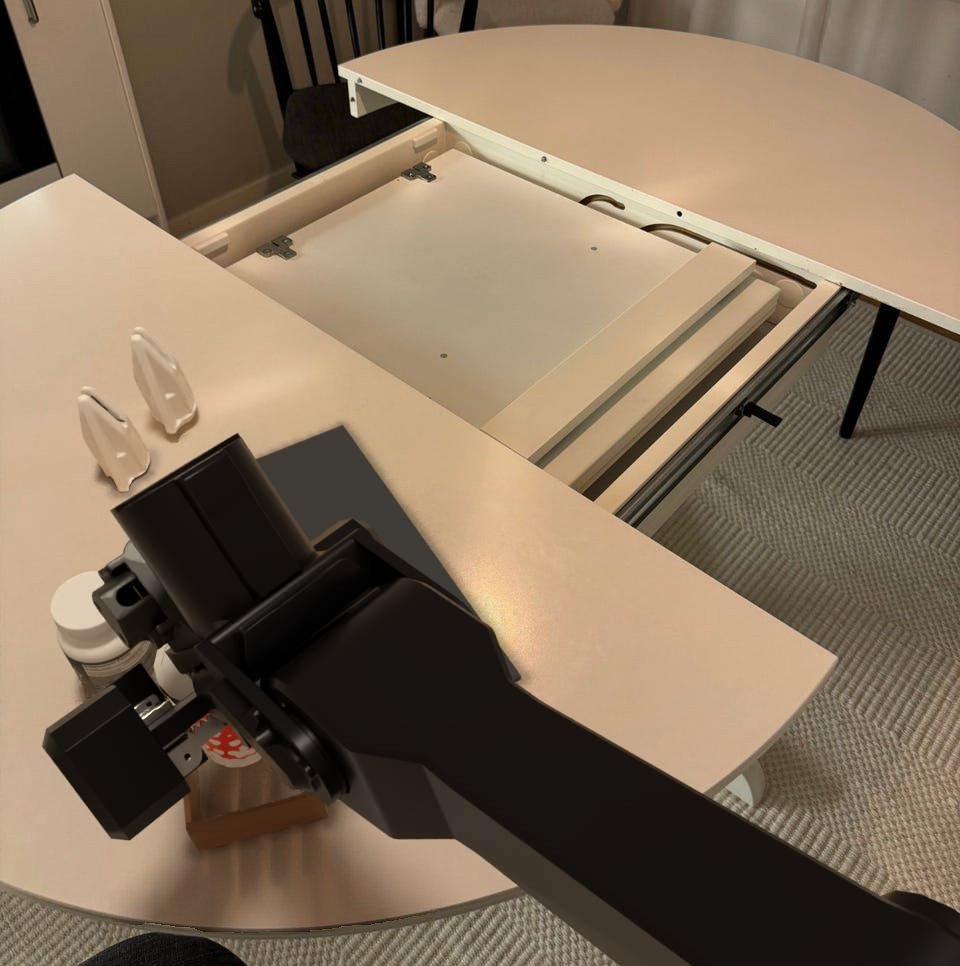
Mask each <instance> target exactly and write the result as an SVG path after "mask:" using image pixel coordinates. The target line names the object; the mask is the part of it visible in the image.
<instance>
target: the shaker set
mask: <svg viewBox="0 0 960 966" xmlns="http://www.w3.org/2000/svg"><path fill="white" fill-rule="evenodd" d="M130 349H131V363H132V374H133V380H134V382H135V384H136V386H137V388H138V390H139V392H140V393H141V396H142V398H143V399H144V402H145V403H146V405H147V408H148V409H149V410H150V412H151V414H152V416H153V419H154V420H155V421H157V422H158V423H160V424H161V425H163V426H164V430H165V433H166V434H170V435H173V434H176V433H177V432H178V430H179V429H180V428H181V427H183V426H184V425H186V424H187V423H189V422H190V421H191V420H192V419H193V418H194V416H195V415H196V412H197V411H196V410H197V408H198V405H197V398H196V396H195V394H194V392H193V390H192V387H191V385H190V383H189V380H188V379H187V377H186V375H185V373H184V370H183V369H182V366H181V364H180V363H179V361H178V359H177V357H176V356H175V355H174V354H173V353H172V352H171V350H170V349H168V348H167V346H165V345H164V343H163V342H161V341H160V339H158V338H157V337H156V336H155V335H154V334H153V333H151V332H150V331H149V330H148V329H146V328H144V327H142V326H136V327H134V328H133V330H132V335H131V337H130ZM77 407H78V417H79V423H80V429H81V435H82V439H83V440H84V443H85V445H86V446H87V447H88V449H89V451H90V452H91V454H92V455H93V457H94V459H95V460H96V462H97V463H98V465H99V467H100V468H101V469H102V471H103V473H104V475H105V476H106V477H110V478H111V479H113V481H114V483H115V486H116V489H117V491H119V492H120V493H122V492H124V493H125V492H129V489H130V485H131V483H132V481H133V480H135V478H138V477H140V476H141V475H143V474H144V473H146V471H147V469H148V467H149V464H150V461H151V458H150V452H149V449H148V447H147V445H146V443H145V442H144V440H143V439H142V437H141V435H140V433H139V431H138V430H137V428H136V426H135V424H134V423H133V422H132V420H131V418H130V417H129V415H128V414H127V413H126V412H125V411H124V410H123V409H122V408H120V407H119V405H117V404H116V403H115V402H114V401H113V400H111V399H110V398H109V397H107V396H106V395H105V394H104V393H102V392H101V391H99V390H97V389H96V388H94V387H93V386H91V385H89V386H88V385H84V386H81V388H80V395H79V396H78V397H77Z"/></svg>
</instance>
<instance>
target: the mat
mask: <svg viewBox="0 0 960 966" xmlns="http://www.w3.org/2000/svg"><path fill="white" fill-rule="evenodd" d="M255 459H256V460H257V462H258V463H259V465H260V466H261V468H262V469H263V471H264V472H265V474H266V476H267V477H268V479H269V480H270V482H271V483H272V485H273V486H274V488H275V489H276V491H277V492H278V494H279V495H280V497H281V499H282V500H283V502H284V503H285V505H286V506H287V508H288V509H289V511H290V512H291V514H292V515H293V517H294V518H295V520H296V522H297V523H298V525H299V526H300V528H301V529H302V531H303V532H304V534H305V535H306V537H307V538H308V540H309V542H311V541H312V540H314V539H315V538H316V537H318V536H319V535H321V534H322V533H324V532H325V531H326V530H328V529H329V528H331V527H332V526H333V525H335V524H336V523H338V522H339V521H341V520H346V519H351V518H354V519H358V520H361V521H365V522H366V523H367V524H368V525H370V526H371V527H372V528H373V529H374V530H375V531H376V533H377V534H378V536H379V537H380V539H381V540H382V542H383V544H384V545H385V547H386V548H387V549H389V550H390V551H392V552H393V553H395V554H396V555H397V556H399V557H400V558H402V559H403V560H404V561H406V562H407V563H409V564H410V565H412V566H413V567H414V568H416V569H417V570H419V571H420V572H422V573H423V574H424V575H426V576H427V577H429V578H430V579H431V580H433V581H434V582H436V583H437V584H439V585H440V586H441V587H443V588H444V589H446V590H447V591H448V592H450V593H451V594H453V595H454V596H455V597H457V598H458V599H459V600H460V601H461V602H463V603H464V604H465V605H466V606H467V607H468V608H469V609H470V610H471V612H472V613H473V614H474V615H475V616H476V617H477V618H479V619H480V620H482V618H481V617H480V616H479V613H477V611H476V610H475V609H474V607H473V606H472V605H471V603H470V602H469V600H468V599H467V598H466V596H465V595H464V593H463V591H462V590H461V589H460V588H459V586H458V584H457V583H456V582H455V580H454V579H453V577H452V576H451V575H450V574H449V572H448V570H447V569H446V568H445V567H444V565H443V563H442V562H441V561H440V560H439V557H438V556H437V555H436V553H435V552H434V551H433V549H432V548H431V546H430V545H429V544H428V542H427V541H426V540H425V538H424V537H423V535H422V534H421V532H420V531H419V530H418V528H417V527H416V525H415V524H414V523H413V521H412V520H411V518H410V517H409V515H408V514H407V513H406V511H405V510H404V509H403V507H402V506H401V504H400V503H399V502H398V499H396V497H395V496H394V494H393V493H392V491H391V490H390V489H389V488H388V486H387V485H386V483H385V482H384V480H383V479H382V478H381V476H380V475H379V473H378V472H377V471H376V469H375V468H374V466H373V465H372V464H371V462H370V461H369V460H368V458H367V456H366V455H365V454H364V453H363V451H362V449H361V448H360V446H359V445H358V444H357V442H356V440H354V438H353V437H352V436H351V434H350V433H349V431H348V430H347V429H346V427H345V426H344V424H342V425H339V426H336V427H333V428H331V429H328V430H326V431H323V432H321V433H318V434H315V435H313V436H311V437H309V438H306V439H303V440H301V441H298V442H296V443H294V444H291V445H288V446H285V447H283V448H280V449H278V450H275V451H273V452H271V453H267V454H265V455H263V456H261V457H258V458H255ZM500 648H501V650H502V653H503V656H504V658H505V661H506V663H507V666H508V669H509V671H510V674H511V677H512V679H513V681H514V682H515V683H517V681H519V680H521V679H522V674H520V672H519V670H518V669H517V668H516V666H515V665H514V663H513V662H512V661H511V659H510V657H508V656H507V654H506V652H505V651H504V649H503V648H502V646H500Z"/></svg>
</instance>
